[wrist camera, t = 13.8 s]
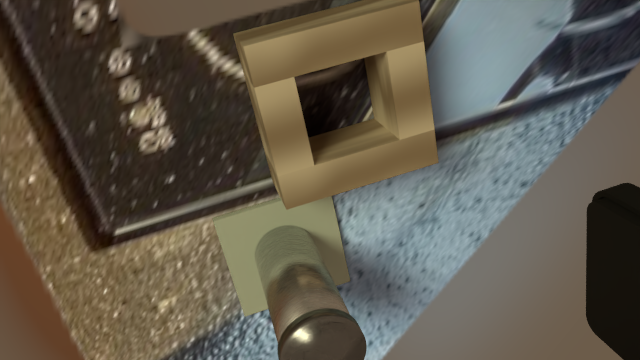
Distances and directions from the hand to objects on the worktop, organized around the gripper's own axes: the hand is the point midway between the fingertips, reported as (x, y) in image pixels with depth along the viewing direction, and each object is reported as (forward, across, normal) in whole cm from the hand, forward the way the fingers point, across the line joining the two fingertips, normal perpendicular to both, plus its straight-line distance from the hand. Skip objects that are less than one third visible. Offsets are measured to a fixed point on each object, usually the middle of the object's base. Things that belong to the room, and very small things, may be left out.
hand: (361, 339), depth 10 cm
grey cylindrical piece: (+30, -1, +16) cm, 34 cm away
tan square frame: (+30, -7, +5) cm, 31 cm away
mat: (+30, -1, +16) cm, 35 cm away
